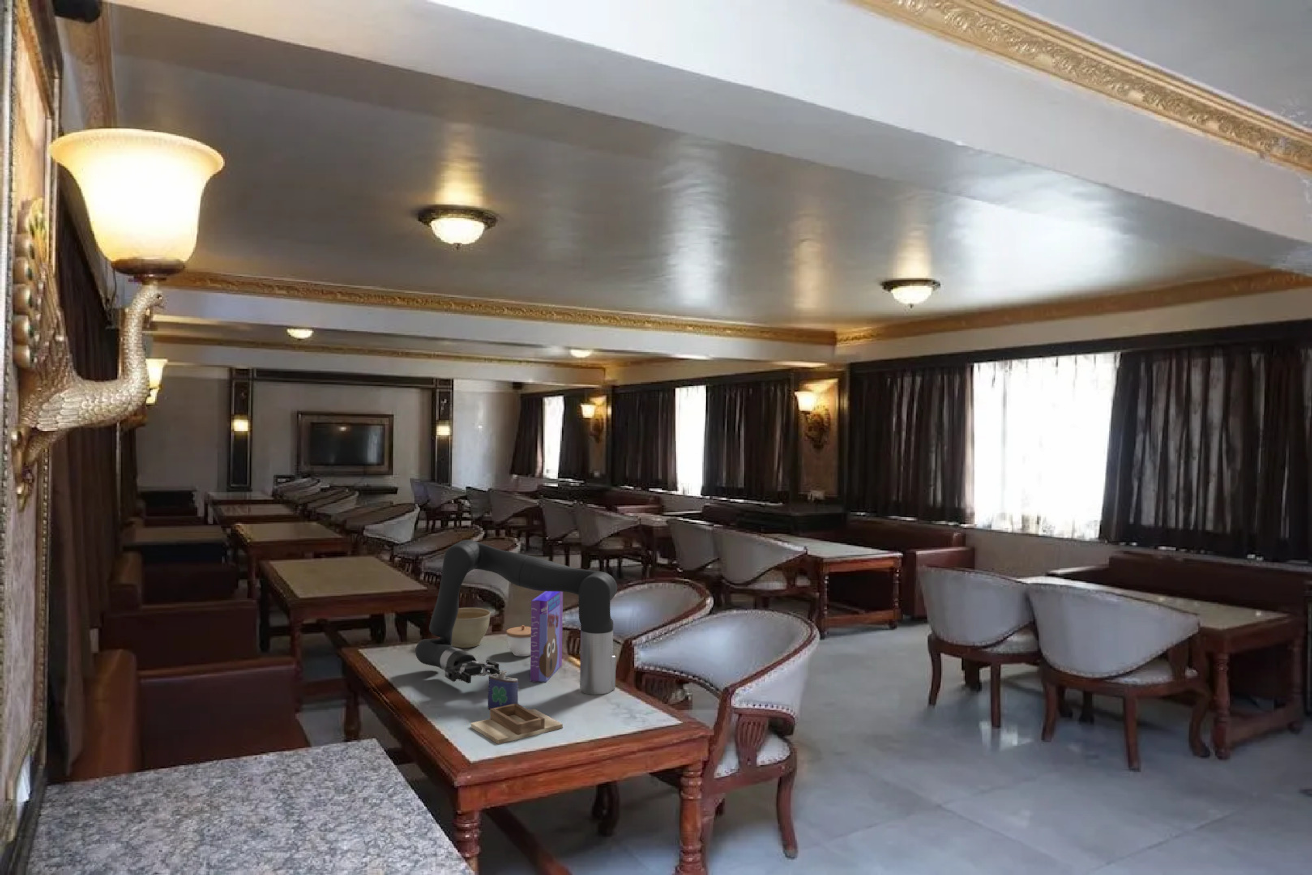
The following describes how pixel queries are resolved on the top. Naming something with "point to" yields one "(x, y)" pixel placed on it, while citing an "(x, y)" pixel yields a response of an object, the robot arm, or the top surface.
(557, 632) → the cereal box
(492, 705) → the flask
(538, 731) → the slot board
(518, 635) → the lidded jar
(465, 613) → the planter bowl
